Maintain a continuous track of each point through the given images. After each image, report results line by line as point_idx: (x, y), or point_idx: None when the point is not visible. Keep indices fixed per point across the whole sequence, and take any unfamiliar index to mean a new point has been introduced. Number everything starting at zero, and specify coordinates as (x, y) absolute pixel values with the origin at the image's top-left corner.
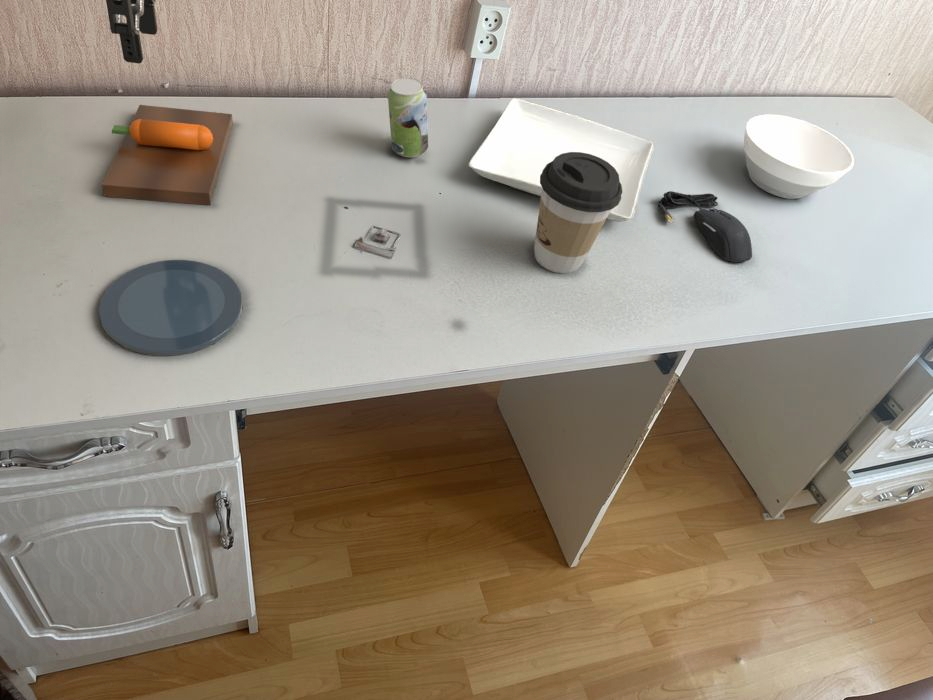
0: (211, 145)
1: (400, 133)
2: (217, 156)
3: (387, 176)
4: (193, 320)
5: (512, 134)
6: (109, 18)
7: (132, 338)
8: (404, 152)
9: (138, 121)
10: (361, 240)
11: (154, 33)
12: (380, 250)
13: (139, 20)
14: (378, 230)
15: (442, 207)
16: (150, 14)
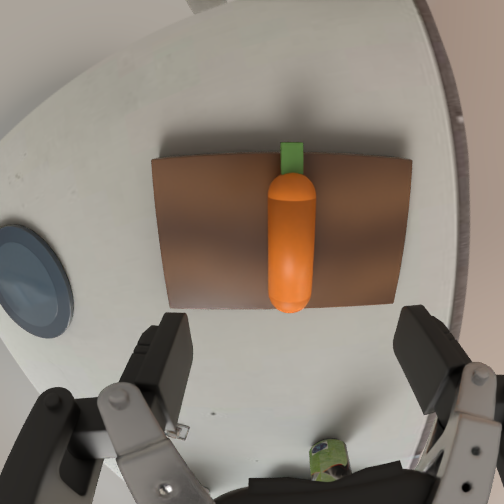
0: None
1: (314, 465)
2: (267, 306)
3: (279, 437)
4: (16, 304)
5: None
6: (21, 435)
7: None
8: (310, 451)
9: (291, 197)
10: None
11: (395, 344)
12: None
13: (420, 333)
14: (173, 434)
15: (235, 460)
16: (419, 384)
